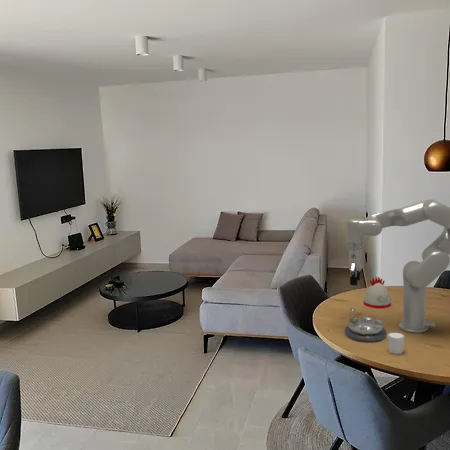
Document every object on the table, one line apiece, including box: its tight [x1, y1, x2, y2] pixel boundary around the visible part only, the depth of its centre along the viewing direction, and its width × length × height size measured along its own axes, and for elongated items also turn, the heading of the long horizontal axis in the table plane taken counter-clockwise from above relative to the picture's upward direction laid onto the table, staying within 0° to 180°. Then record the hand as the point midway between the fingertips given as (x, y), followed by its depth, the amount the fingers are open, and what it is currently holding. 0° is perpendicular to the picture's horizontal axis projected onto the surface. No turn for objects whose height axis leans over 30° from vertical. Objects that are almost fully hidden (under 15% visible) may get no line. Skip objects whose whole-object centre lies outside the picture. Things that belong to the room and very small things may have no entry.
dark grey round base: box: [344, 324, 387, 344], centre depth 220 cm, size 18×18×2 cm
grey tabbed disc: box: [348, 307, 384, 336], centre depth 219 cm, size 15×15×9 cm
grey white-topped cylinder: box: [386, 332, 406, 355], centre depth 202 cm, size 7×7×7 cm
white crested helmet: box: [363, 276, 392, 309], centre depth 258 cm, size 14×14×15 cm
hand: (354, 282), depth 226 cm, fingers open, 7 cm apart
